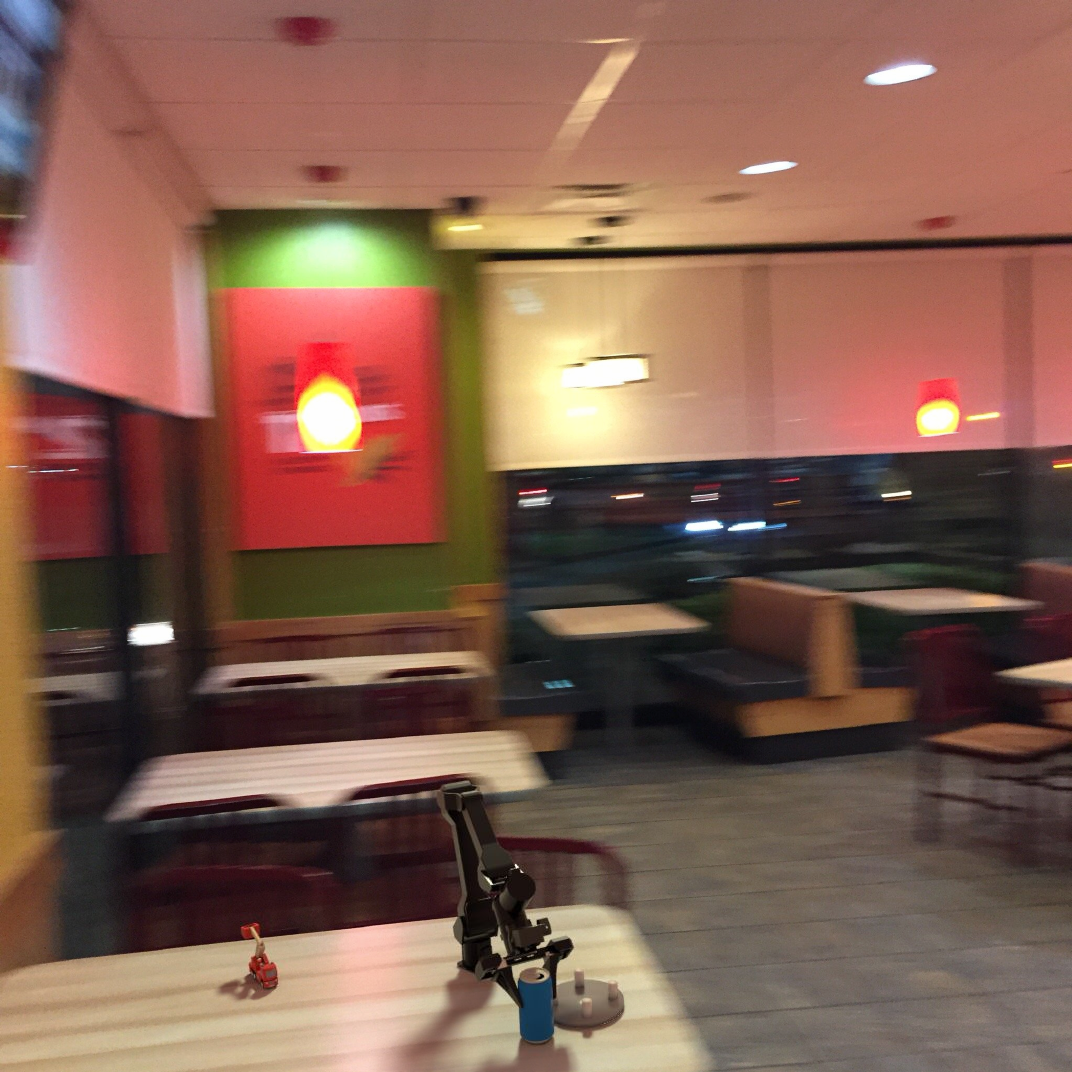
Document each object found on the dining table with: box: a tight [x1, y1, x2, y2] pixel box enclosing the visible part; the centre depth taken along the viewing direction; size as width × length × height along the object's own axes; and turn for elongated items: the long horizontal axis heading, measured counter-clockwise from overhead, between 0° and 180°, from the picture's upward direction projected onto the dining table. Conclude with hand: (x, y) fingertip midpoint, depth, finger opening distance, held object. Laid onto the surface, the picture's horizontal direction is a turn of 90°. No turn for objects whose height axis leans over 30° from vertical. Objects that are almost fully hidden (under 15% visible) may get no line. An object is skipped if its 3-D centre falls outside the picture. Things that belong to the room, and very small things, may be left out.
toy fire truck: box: [240, 922, 279, 989], centre depth 224 cm, size 3×14×10 cm, turn 34°
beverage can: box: [516, 966, 555, 1044], centre depth 195 cm, size 6×6×12 cm
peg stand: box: [553, 967, 625, 1029], centre depth 206 cm, size 16×16×4 cm
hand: (538, 1003), depth 194 cm, fingers closed on beverage can, 6 cm apart
